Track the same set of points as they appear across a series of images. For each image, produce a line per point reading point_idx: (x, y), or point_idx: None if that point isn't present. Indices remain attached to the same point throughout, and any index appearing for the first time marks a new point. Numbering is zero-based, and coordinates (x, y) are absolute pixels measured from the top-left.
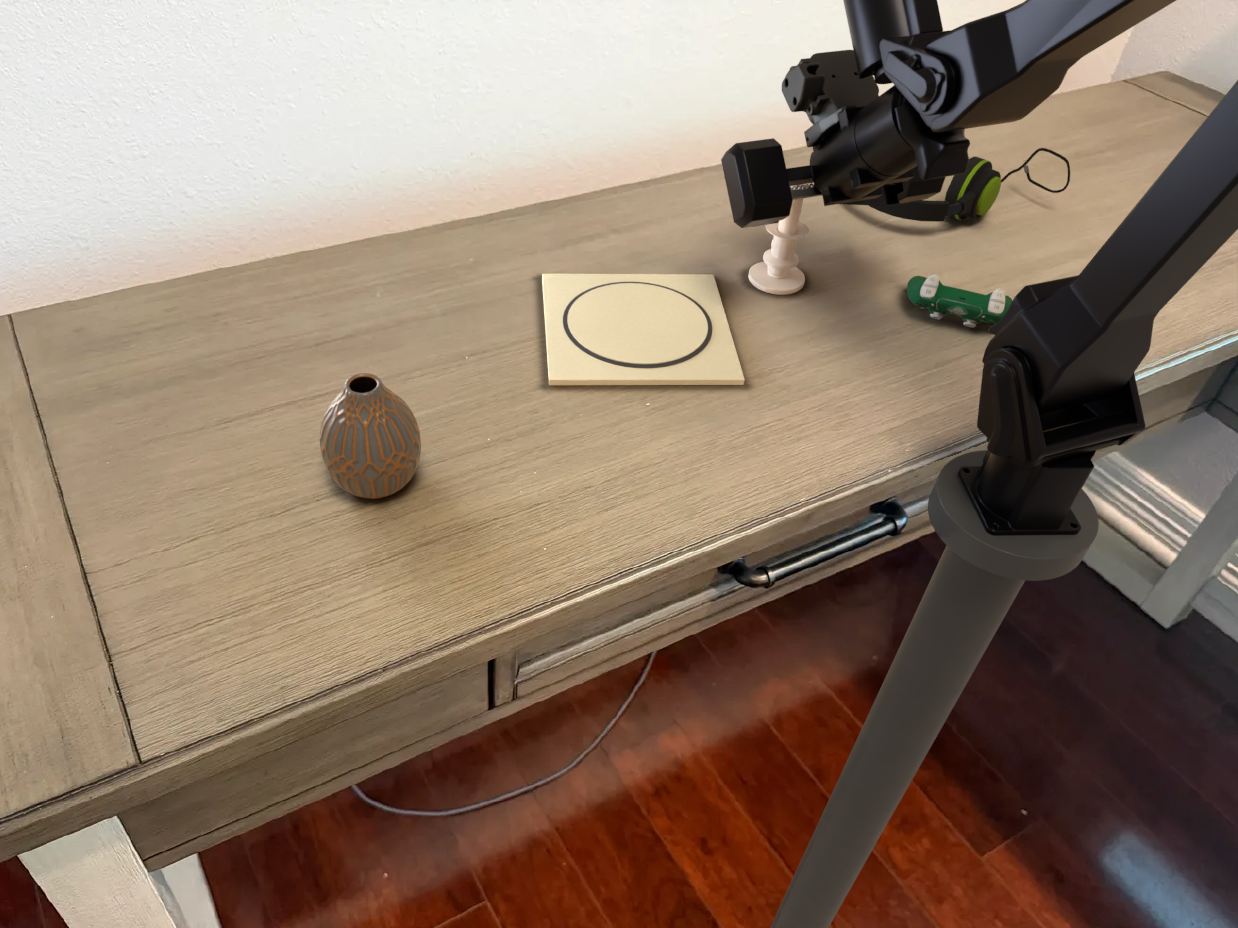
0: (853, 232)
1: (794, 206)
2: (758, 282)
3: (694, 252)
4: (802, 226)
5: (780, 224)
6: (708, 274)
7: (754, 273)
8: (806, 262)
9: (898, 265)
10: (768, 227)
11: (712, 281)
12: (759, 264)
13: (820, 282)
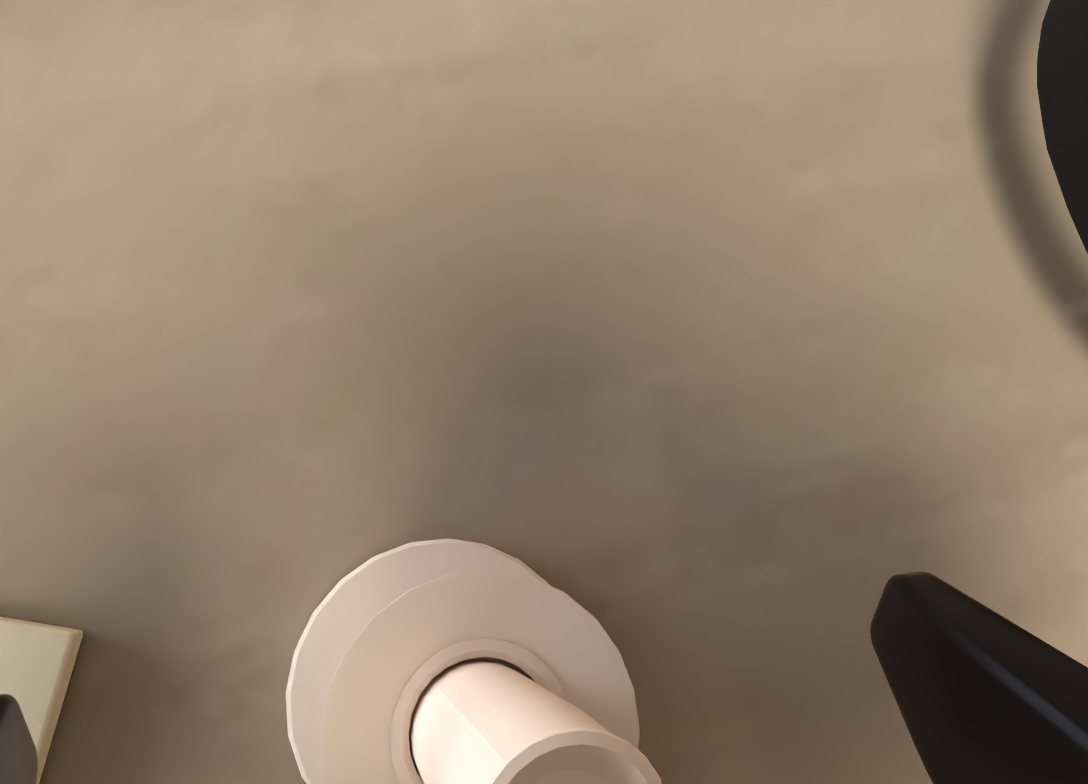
0: (958, 337)
1: None
2: (305, 757)
3: (111, 337)
4: (606, 717)
5: (418, 755)
6: (39, 631)
7: (322, 658)
8: (659, 546)
9: (1059, 648)
10: (345, 700)
11: (29, 710)
12: (387, 575)
13: (659, 742)
